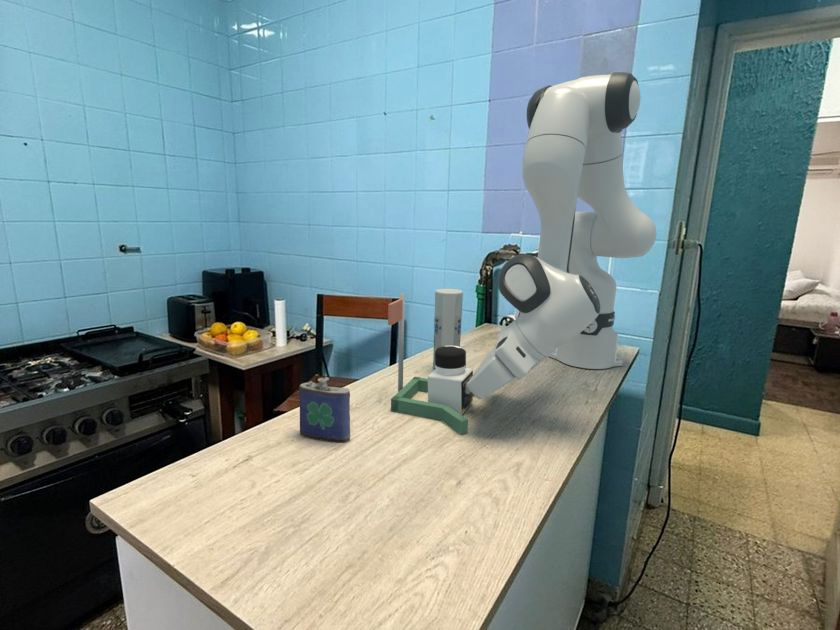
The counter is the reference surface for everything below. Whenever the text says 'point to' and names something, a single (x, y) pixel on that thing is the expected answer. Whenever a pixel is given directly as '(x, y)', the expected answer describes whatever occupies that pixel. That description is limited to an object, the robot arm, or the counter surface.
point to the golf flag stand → (418, 384)
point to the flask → (324, 411)
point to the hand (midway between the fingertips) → (465, 388)
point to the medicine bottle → (450, 379)
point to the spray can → (447, 318)
